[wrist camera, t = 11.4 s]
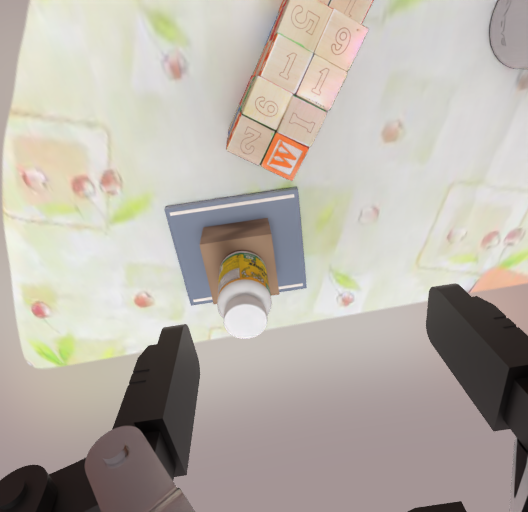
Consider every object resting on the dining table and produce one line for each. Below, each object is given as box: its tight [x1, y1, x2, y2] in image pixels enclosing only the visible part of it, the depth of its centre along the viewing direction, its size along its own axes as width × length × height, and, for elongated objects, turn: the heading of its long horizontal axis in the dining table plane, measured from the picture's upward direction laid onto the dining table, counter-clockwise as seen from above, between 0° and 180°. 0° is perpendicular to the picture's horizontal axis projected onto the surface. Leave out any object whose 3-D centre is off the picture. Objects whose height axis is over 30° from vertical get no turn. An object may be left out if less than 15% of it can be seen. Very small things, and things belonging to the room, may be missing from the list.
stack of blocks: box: [226, 0, 374, 181], centre depth 31 cm, size 21×6×12 cm, turn 154°
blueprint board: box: [165, 187, 307, 305], centre depth 45 cm, size 16×14×1 cm
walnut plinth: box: [200, 218, 279, 304], centre depth 43 cm, size 8×8×5 cm
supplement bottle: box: [217, 251, 272, 339], centre depth 36 cm, size 5×5×10 cm
